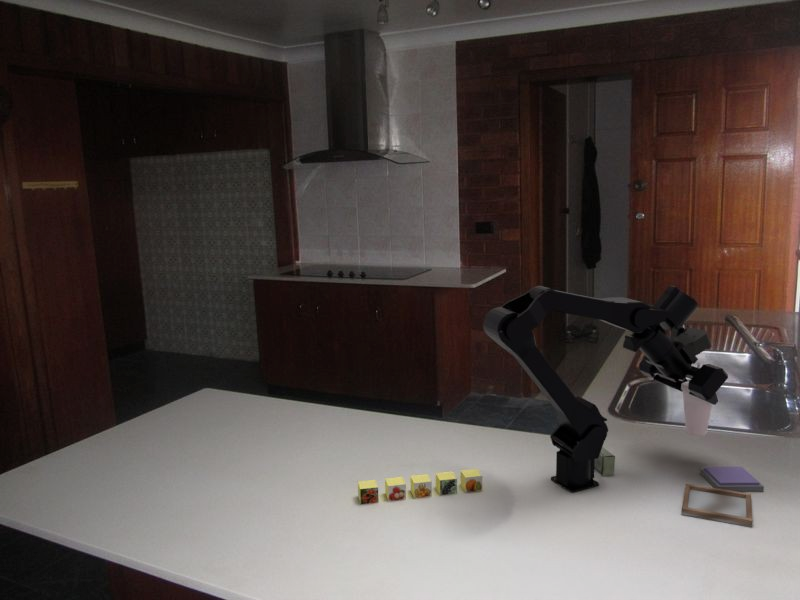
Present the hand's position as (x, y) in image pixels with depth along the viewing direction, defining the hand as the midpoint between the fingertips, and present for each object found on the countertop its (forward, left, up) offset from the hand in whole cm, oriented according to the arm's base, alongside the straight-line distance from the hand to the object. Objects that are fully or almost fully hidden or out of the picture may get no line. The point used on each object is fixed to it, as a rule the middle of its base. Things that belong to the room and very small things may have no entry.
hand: (703, 398), depth 132 cm
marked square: (-13, -15, -13) cm, 24 cm away
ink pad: (-3, -9, -13) cm, 16 cm away
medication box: (-19, +10, -14) cm, 25 cm away
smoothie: (-1, 0, -7) cm, 7 cm away
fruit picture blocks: (-55, +12, -14) cm, 58 cm away
